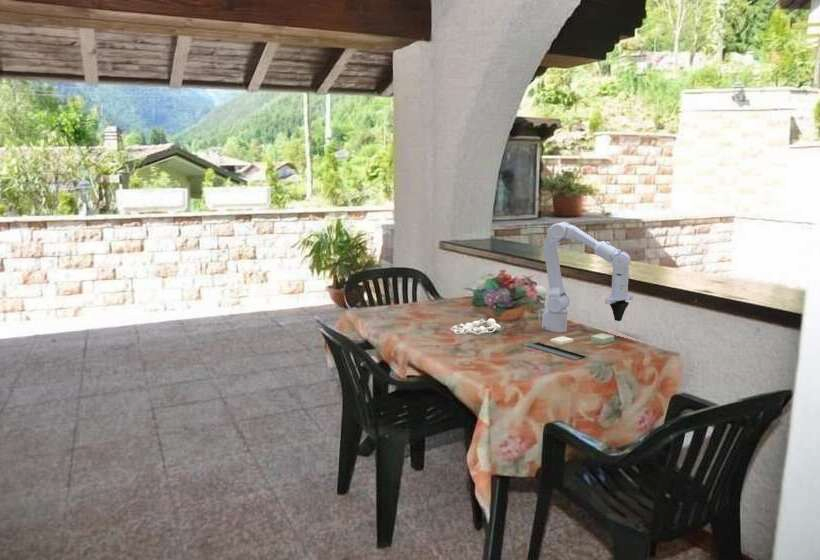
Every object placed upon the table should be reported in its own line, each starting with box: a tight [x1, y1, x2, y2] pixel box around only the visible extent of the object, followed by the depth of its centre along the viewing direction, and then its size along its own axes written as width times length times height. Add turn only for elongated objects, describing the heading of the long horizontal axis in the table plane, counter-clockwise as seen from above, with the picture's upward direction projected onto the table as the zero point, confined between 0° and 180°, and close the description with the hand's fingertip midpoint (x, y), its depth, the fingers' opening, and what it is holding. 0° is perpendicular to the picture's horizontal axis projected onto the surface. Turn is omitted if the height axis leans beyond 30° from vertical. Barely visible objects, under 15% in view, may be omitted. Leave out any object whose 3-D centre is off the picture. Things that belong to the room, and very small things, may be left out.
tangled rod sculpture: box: [450, 317, 502, 335], centre depth 239 cm, size 19×14×4 cm
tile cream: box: [549, 336, 574, 346], centre depth 219 cm, size 5×7×2 cm
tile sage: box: [591, 332, 615, 344], centre depth 218 cm, size 5×7×2 cm
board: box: [556, 330, 624, 349], centre depth 222 cm, size 20×14×2 cm
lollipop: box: [535, 285, 548, 320], centre depth 257 cm, size 6×6×15 cm
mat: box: [526, 342, 588, 361], centre depth 213 cm, size 22×14×1 cm, turn 36°
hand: (617, 320), depth 223 cm, fingers closed
